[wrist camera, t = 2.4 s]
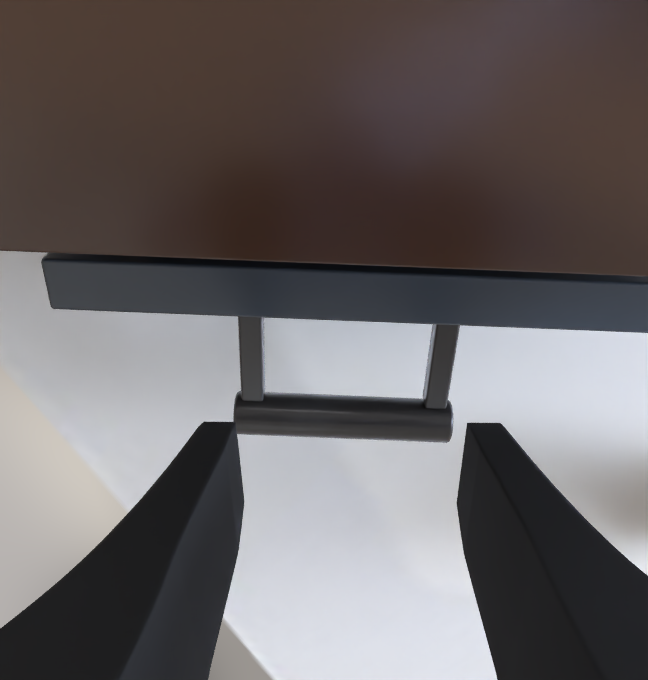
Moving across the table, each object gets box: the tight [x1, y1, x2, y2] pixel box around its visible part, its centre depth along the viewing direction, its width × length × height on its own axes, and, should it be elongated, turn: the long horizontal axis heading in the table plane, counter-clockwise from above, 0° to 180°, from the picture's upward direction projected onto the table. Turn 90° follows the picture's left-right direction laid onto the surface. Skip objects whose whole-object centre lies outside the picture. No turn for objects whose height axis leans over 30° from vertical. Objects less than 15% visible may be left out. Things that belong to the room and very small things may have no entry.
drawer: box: [41, 253, 648, 443], centre depth 14 cm, size 18×13×6 cm
